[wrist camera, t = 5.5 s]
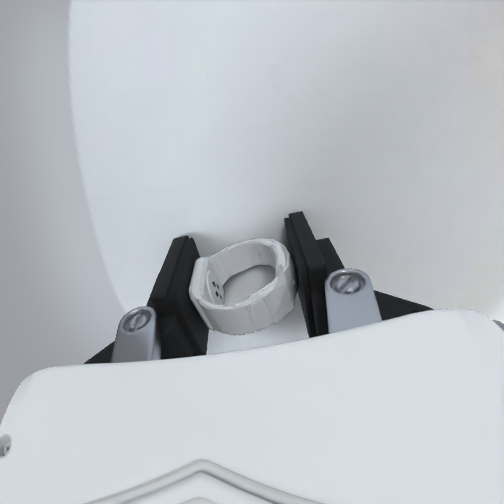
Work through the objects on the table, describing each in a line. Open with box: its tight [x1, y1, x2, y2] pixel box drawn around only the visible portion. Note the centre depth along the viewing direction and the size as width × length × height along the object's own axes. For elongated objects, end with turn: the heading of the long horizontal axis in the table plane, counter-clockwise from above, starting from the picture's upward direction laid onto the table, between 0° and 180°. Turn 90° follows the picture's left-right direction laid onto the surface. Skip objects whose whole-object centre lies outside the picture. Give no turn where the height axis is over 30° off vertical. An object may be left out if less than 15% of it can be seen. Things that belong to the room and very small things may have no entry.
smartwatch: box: [188, 238, 298, 335], centre depth 10 cm, size 4×2×4 cm, turn 109°
